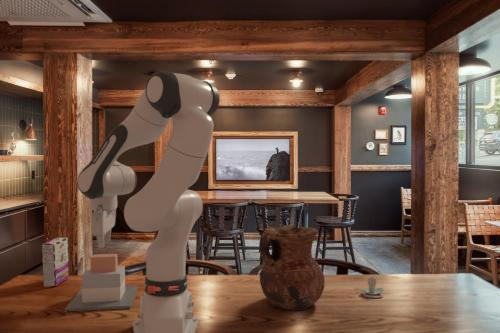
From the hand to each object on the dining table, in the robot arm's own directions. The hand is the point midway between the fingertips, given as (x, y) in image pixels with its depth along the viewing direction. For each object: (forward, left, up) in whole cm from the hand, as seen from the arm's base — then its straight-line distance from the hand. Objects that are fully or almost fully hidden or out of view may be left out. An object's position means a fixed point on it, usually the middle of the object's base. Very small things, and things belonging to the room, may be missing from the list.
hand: (104, 244), depth 138 cm
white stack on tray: (0, 0, -19) cm, 19 cm away
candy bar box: (+21, +22, -19) cm, 36 cm away
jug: (-13, -62, -19) cm, 66 cm away
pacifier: (-10, -91, -19) cm, 94 cm away
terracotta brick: (0, 0, -9) cm, 9 cm away
